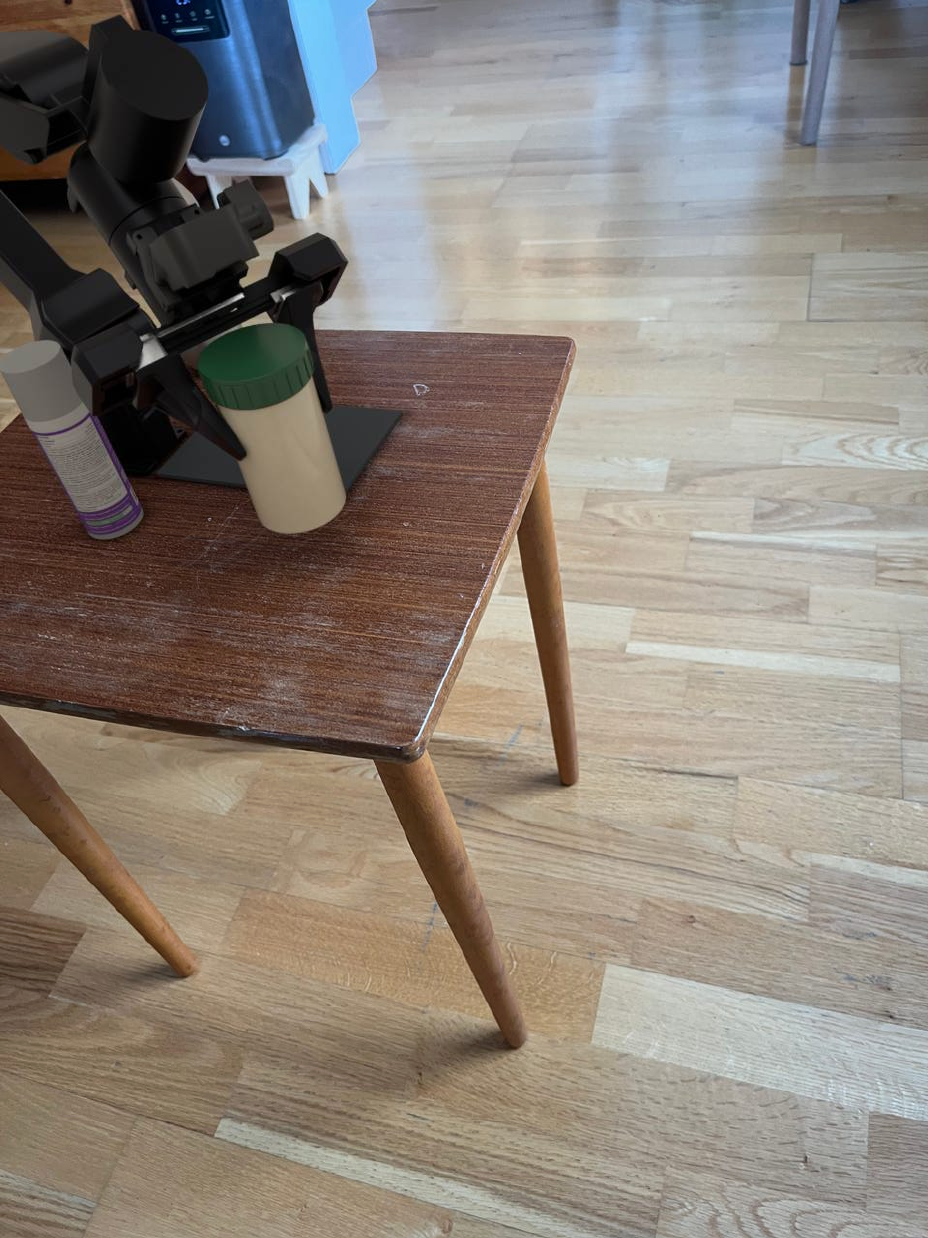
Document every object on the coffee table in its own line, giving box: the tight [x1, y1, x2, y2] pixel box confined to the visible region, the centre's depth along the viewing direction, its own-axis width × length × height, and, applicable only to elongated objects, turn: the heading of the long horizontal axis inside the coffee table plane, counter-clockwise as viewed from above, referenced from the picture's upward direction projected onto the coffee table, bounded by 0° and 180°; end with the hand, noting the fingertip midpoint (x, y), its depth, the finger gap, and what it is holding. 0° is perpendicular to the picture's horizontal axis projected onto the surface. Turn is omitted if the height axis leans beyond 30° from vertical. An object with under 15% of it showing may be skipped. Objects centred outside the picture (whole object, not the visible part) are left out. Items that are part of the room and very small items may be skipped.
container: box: [0, 340, 144, 540], centre depth 72 cm, size 5×5×15 cm
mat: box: [155, 404, 404, 494], centre depth 82 cm, size 18×12×1 cm, turn 68°
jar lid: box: [197, 322, 314, 410], centre depth 60 cm, size 7×7×2 cm
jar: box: [215, 376, 347, 535], centre depth 64 cm, size 6×6×12 cm
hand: (287, 434), depth 62 cm, fingers closed on jar, 6 cm apart
